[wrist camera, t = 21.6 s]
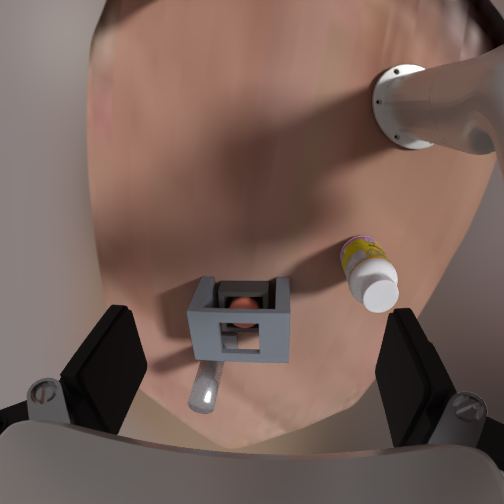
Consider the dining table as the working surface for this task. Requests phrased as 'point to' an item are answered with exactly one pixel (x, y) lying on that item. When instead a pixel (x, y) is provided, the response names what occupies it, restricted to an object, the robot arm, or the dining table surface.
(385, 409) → the robot arm
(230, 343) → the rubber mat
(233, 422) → the dining table surface
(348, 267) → the supplement bottle
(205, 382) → the silver metal cylinder
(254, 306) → the button
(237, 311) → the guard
